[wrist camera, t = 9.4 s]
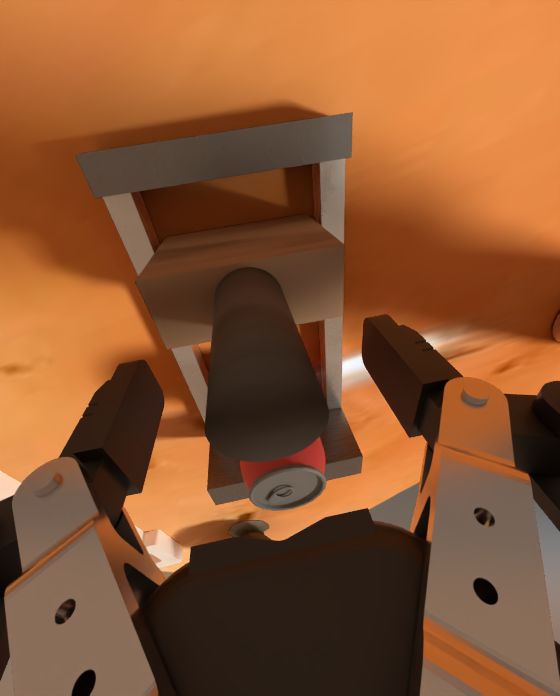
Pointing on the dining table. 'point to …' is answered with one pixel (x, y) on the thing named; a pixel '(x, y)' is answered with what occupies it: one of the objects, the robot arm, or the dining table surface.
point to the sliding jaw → (251, 326)
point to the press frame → (220, 162)
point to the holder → (155, 541)
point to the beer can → (286, 479)
